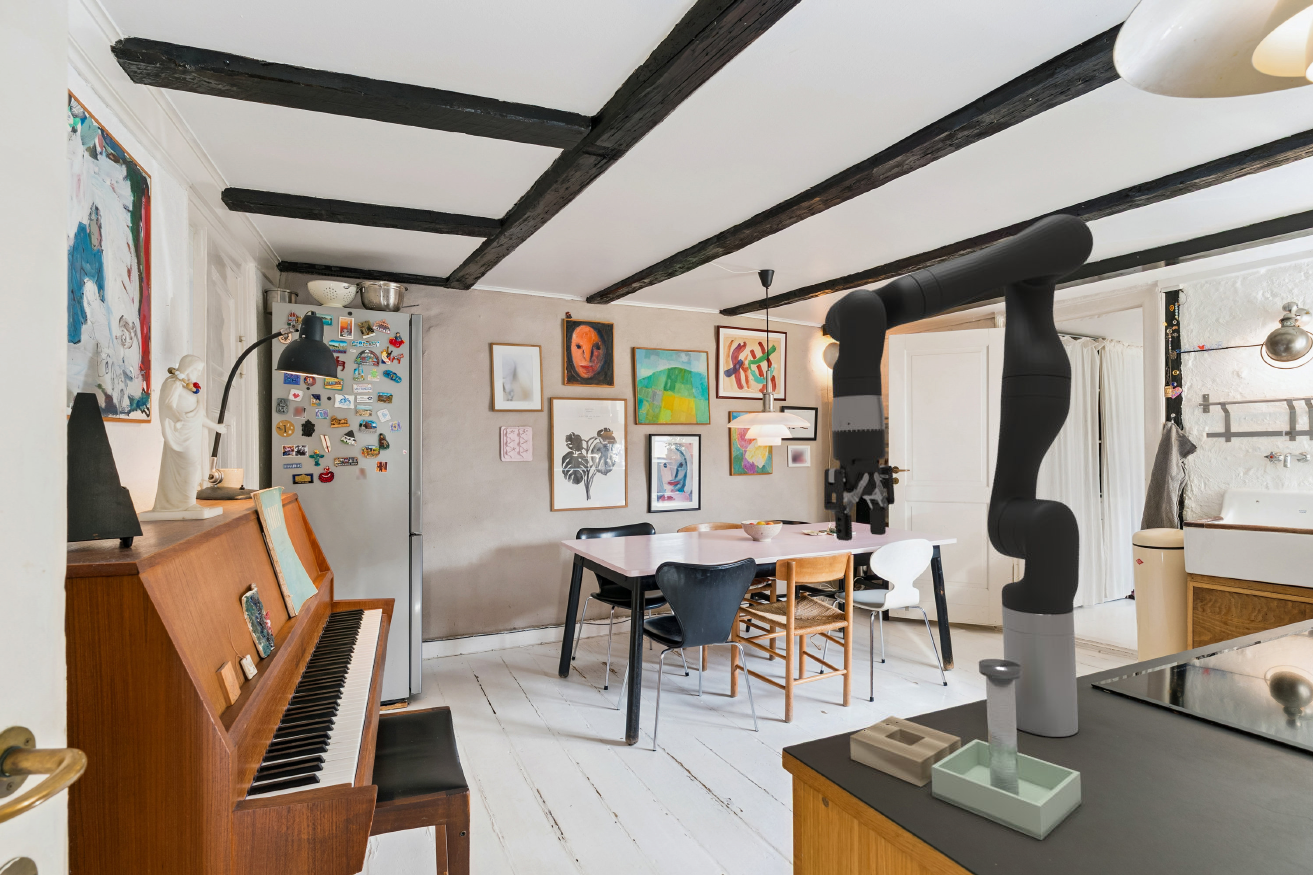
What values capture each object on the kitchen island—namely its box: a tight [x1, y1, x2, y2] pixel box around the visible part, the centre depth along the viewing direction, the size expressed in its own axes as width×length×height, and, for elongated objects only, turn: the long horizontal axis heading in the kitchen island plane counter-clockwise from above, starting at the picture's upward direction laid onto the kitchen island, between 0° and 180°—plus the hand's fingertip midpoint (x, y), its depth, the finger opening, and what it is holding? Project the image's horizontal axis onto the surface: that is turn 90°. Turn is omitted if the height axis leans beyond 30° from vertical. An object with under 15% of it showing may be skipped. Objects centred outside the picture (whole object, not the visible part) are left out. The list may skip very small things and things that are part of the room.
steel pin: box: [978, 658, 1021, 796], centre depth 78 cm, size 4×4×15 cm
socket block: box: [849, 715, 962, 788], centre depth 88 cm, size 10×10×3 cm
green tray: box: [931, 738, 1082, 841], centre depth 78 cm, size 11×12×4 cm
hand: (861, 537), depth 99 cm, fingers open, 8 cm apart
